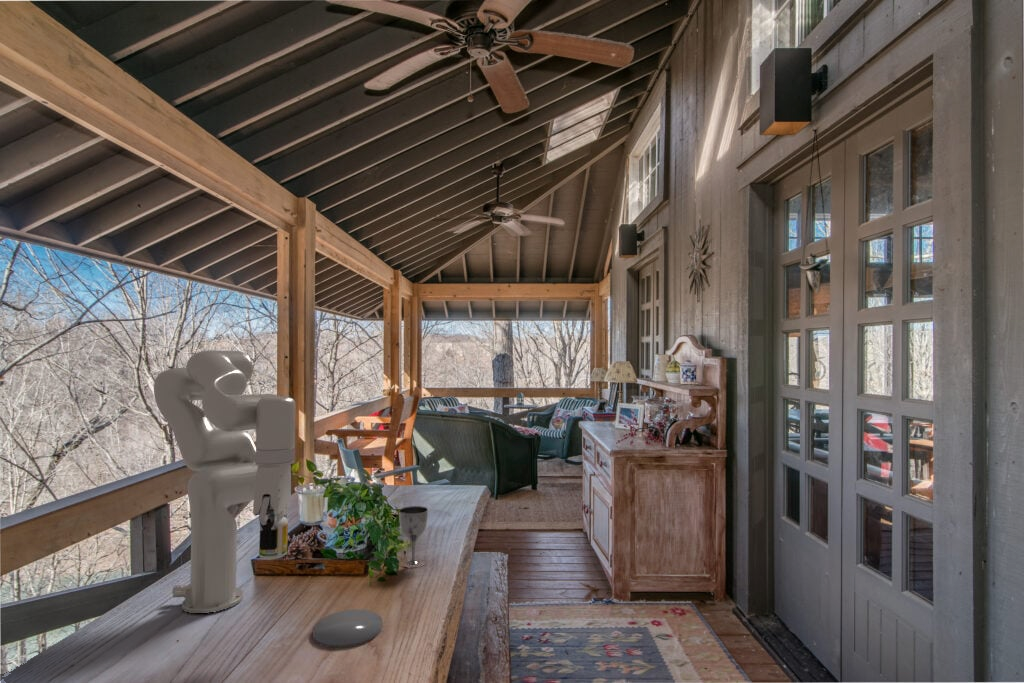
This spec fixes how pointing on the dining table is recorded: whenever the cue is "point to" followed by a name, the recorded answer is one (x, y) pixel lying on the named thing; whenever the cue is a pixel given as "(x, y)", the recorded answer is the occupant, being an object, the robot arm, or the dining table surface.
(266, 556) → the supplement bottle
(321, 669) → the dining table surface
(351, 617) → the smooth grey river stone
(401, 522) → the wine glass
